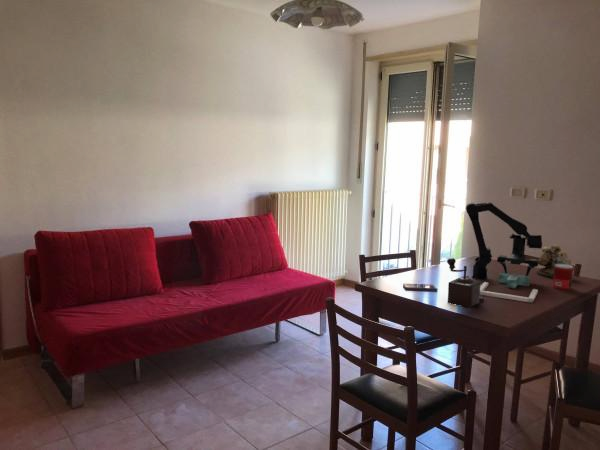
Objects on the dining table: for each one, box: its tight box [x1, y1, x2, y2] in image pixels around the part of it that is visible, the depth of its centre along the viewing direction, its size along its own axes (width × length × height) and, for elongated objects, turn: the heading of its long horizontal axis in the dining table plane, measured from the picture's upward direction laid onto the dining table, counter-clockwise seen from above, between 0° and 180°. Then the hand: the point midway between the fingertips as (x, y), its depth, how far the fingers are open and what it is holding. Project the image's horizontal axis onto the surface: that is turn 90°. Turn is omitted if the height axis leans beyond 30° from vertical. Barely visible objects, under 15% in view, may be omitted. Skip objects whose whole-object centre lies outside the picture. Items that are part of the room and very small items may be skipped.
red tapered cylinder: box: [552, 264, 574, 291], centre depth 241 cm, size 8×8×11 cm
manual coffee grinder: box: [446, 257, 481, 308], centre depth 217 cm, size 16×11×18 cm
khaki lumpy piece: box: [536, 244, 572, 279], centre depth 263 cm, size 18×12×17 cm, turn 40°
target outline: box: [480, 281, 539, 304], centre depth 231 cm, size 24×18×2 cm
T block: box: [498, 272, 531, 289], centre depth 245 cm, size 14×12×4 cm
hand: (516, 277), depth 254 cm, fingers open, 9 cm apart
